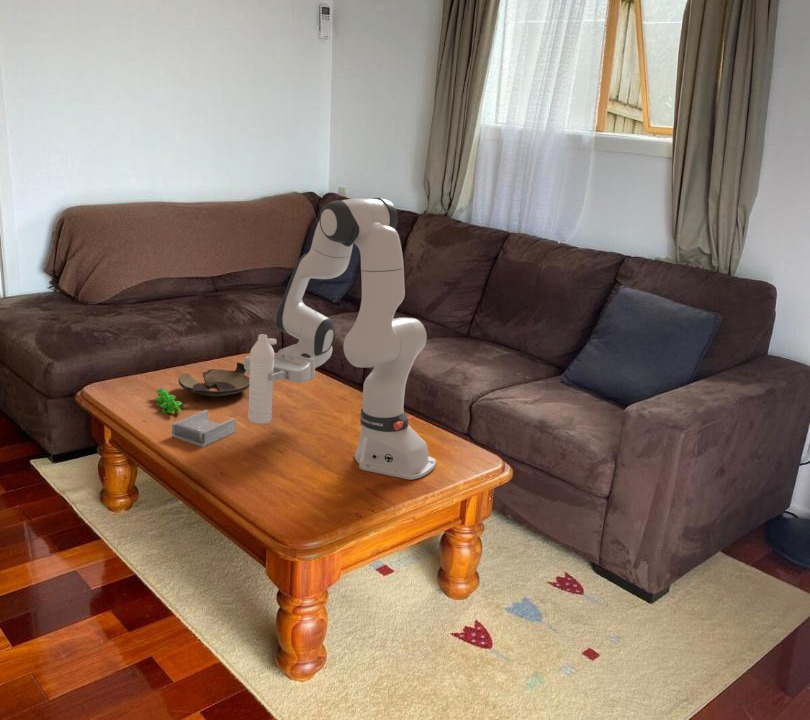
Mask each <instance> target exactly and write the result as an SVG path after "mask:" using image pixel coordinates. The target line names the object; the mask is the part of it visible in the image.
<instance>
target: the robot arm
mask: <svg viewBox="0 0 810 720" xmlns="http://www.w3.org/2000/svg"><path fill="white" fill-rule="evenodd" d="M398 215H399V214H398V212H397V209H396V207H395V204H394V203H392V201H390V200H389V199H385V198H382V197H374V198H369V197H367V198H362V197H361V198H360V197H354V198H347V199H342V200H340V199H339V200H337V199H336V200H334V201H331V202H328V203H327V204H325V205H324V206H322V209H321V211H320V214H319V219H318V220H319V221H318V223H317V226H316V228H315V231H314V234H313V237H312V241H311V242H312V243H311V246H310V248H309V249H310V250H309V251H308V253H304V254H303V255H301V256H300V258H299V259H298V260H297V262H296V264H295V266H294V268H293V270H292V274H291V276H290V279H289V281H288V284H287V286H286V289H285V292H284V295H283V297H282V298H281V299H282V300H281V301H280V303H279V305H278V306H277V308H276V311H275V313H274V322H275V325H276V328H277V329H278V330H279V331H280V332H281V331H282V332H283V333H285V334H288V335H290V336H292V337H294V338H295V339H298V342H297V343H295V344H292V345H289V346H286V347H283V348H280V349H279V350H278V351H277V352H276V354H274V371H273V373H271V374H269V375H268V380H270V381H273V382H275V381H282V380H284V381H287V382H292V383H295V384H303V383H305V382H307V381H310V380H314V379H315V374H316V368H320V366H322V365H323V364H325V363H326V362H327V361H328V360H329V359H330V358H331V356H332V353H333V343H334V340H335V336H336V334H335V332H336V331H335V329H336V328H335V323H334V322H333V320H332V319H331V318H329V317H328V316H327V315H326V316H325V315H324V314H322V313H320V312H318V311H316V310H315V309H312V307H309V306H307V305H306V304H305V303H304V302H303V297H304V295H305V292H306V289H307V287H308V285H309V284H308V283H309V282H310V279H317V280H330V279H331V280H332V279H334V278H338V277H340V276H341V275H343V274H344V272H345V271H347V270H348V266H349V264H350V260H351V256H352V252H353V251H352V250H353V248H354V247H353V246H355V245H356V247H357V248H358V250H359V253H360V273H361V301H360V308H359V311H358V314H357V318H356V320H355V323H354V324H353V325H352V328H351V329H350V331H348V333H347V334H346V336H345V338H344V340H343V352H344V353H343V354H344V356H345V358H346V360H347V361H348V362H349V364H351V365H352V366H353V367H356V368H373V369H372V370H371V372H370V373H369V375H368V376H367V377H366V378H365V380H364V382H363V390H362V408H361V409H360V419H359V420H360V421H359V422H360V425H361V427H360V434H359V440H358V445H357V449H356V451H355V454H354V460H355V461H356V463H358V468H359V469H360V470H362V471H366V472H370V473H375V474H380V475H385V476H390V477H393V478H394V477H396V478H400V479H405V480H416V479H419V478H423V477H425V476H426V475H428V474H429V473H431V472H432V471H433V470H434V469H435V468H436V465H437V460H436V459H435V458H434V457H431V456H430V455H429V449H428V444H427V442H426V441H425V440H424V439H423V438H422V437H421V436H420V435H419V434H418V433H417V432H416V431H415V430H414V428H412V427H411V426H410V425H409V422H410V420H412V414H411V415H409V416H407V415H406V411H405V410H404V405H405V404H404V403H405V393H406V385H407V380H408V377H409V374H410V372H411V370H412V367H413V364H414V363H415V360H416V359H417V356H418V355H420V353H421V351H423V349H424V348H425V346H426V344H427V340H428V339H427V338H428V337H427V335H428V334H427V331H426V328H425V326H424V324H423V323H422V322H421V321H420V320H419V319H417V318H415V317H414V318H413V317H397V318H394V316H395V313H396V311H397V309H398V307H400V305H401V304H402V303H403V301H404V299H405V296H406V288H405V271H404V270H405V268H404V267H405V266H404V256H403V250H402V244H401V239H400V235H399V233H398V231H397V230H396V228H397V225H398V221H399V219H398V217H399V216H398ZM243 362H244V369H246V372H245V375H249V376H250V354H249V355H246V356H244V358H243Z"/></svg>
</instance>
